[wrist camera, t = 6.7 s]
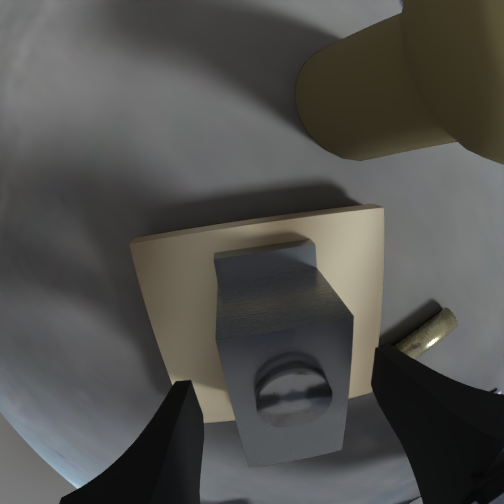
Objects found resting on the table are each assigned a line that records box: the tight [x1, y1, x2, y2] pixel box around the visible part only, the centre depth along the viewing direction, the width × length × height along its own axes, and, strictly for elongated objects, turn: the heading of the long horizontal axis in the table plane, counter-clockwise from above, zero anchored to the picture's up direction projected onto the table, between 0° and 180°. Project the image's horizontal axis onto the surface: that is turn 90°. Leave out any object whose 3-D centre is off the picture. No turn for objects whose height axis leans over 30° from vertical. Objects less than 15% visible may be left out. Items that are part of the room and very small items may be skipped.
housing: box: [213, 239, 354, 468], centre depth 11 cm, size 9×4×5 cm, turn 7°
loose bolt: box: [393, 308, 458, 359], centre depth 16 cm, size 6×3×3 cm, turn 122°
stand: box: [129, 204, 384, 423], centre depth 15 cm, size 11×11×2 cm
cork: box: [295, 0, 504, 164], centre depth 8 cm, size 6×6×11 cm
